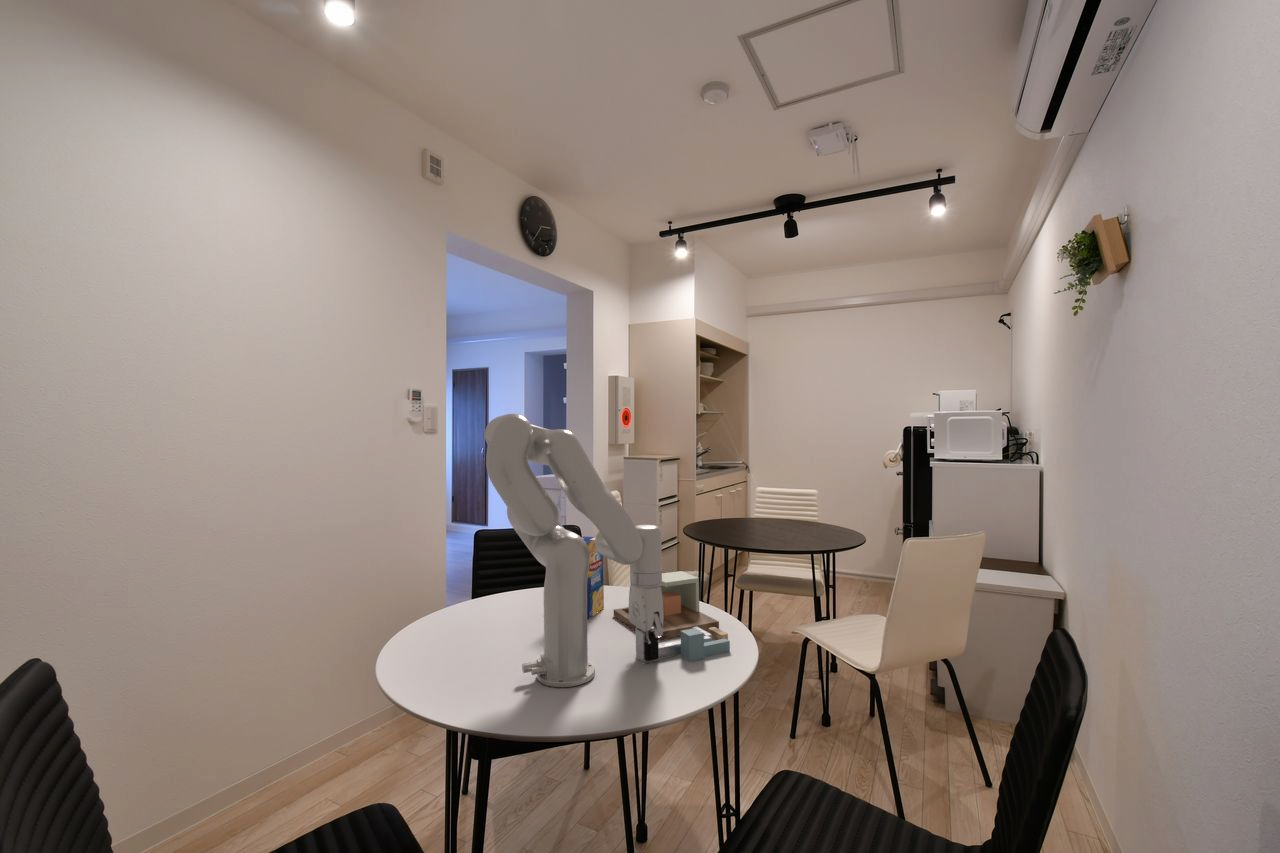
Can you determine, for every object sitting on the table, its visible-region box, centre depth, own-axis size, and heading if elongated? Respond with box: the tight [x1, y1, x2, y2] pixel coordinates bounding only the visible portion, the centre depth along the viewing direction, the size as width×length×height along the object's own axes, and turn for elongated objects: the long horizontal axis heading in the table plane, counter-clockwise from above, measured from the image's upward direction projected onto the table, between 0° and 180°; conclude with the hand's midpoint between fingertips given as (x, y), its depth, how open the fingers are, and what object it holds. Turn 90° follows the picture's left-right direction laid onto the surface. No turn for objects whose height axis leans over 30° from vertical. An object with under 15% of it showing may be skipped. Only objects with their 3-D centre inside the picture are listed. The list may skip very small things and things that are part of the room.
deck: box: [613, 605, 720, 641], centre depth 158 cm, size 21×24×2 cm
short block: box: [707, 627, 729, 641], centre depth 144 cm, size 6×2×2 cm, turn 26°
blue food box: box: [580, 536, 605, 620], centre depth 169 cm, size 7×11×22 cm, turn 159°
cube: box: [662, 592, 681, 615], centre depth 162 cm, size 5×5×5 cm
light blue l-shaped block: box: [680, 628, 731, 663], centre depth 134 cm, size 12×4×6 cm, turn 116°
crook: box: [635, 627, 713, 664], centre depth 138 cm, size 21×10×7 cm, turn 116°
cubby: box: [661, 570, 700, 612], centre depth 164 cm, size 11×10×10 cm
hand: (647, 655), depth 131 cm, fingers closed on crook, 4 cm apart
